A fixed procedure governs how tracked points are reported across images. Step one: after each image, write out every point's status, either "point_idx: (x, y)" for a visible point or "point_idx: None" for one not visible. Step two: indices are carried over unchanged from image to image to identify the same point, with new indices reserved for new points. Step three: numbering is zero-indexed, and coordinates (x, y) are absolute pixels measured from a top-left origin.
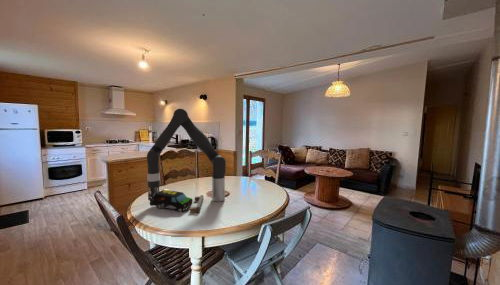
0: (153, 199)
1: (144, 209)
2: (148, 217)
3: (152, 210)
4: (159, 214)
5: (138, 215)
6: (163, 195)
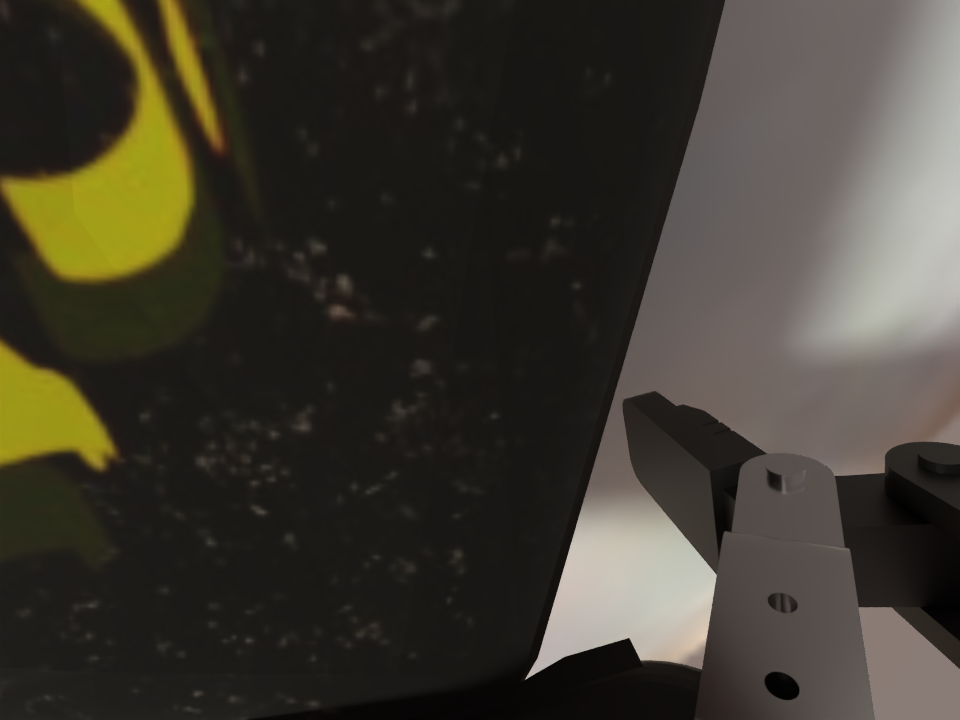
0: (796, 464)
1: (580, 542)
2: (919, 252)
3: None
4: (801, 89)
5: None
6: (720, 6)
